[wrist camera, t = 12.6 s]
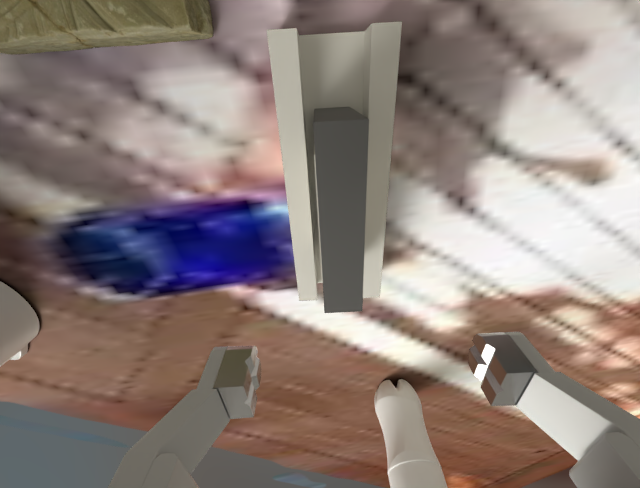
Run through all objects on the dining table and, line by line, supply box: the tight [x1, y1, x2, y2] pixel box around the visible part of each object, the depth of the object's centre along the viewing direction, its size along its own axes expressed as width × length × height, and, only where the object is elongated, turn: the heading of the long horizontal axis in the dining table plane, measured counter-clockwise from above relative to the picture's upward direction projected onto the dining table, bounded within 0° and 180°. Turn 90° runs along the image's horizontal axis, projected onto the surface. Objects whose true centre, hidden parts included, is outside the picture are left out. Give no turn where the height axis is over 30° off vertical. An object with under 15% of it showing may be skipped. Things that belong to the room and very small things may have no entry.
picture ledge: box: [267, 21, 402, 301], centre depth 26 cm, size 9×24×4 cm, turn 3°
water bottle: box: [374, 379, 447, 488], centre depth 35 cm, size 7×7×25 cm
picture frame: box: [313, 107, 369, 313], centre depth 22 cm, size 3×14×10 cm, turn 3°
